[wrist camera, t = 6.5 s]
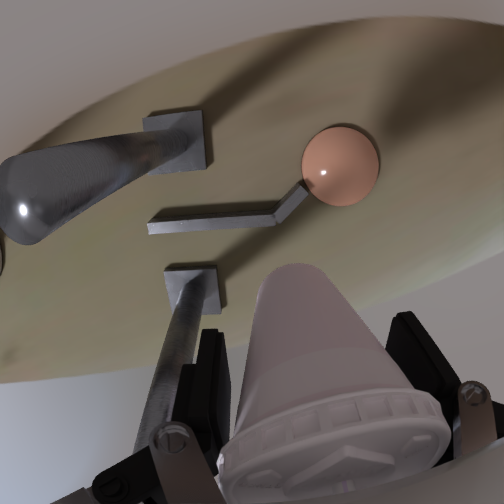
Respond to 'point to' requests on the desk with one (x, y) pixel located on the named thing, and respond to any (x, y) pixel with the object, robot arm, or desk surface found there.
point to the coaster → (339, 166)
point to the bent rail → (230, 217)
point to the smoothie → (322, 401)
